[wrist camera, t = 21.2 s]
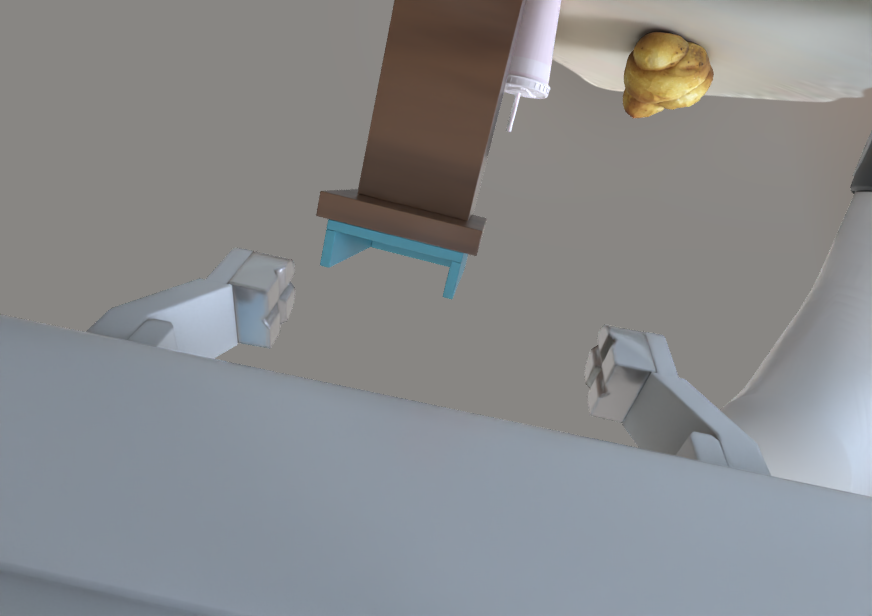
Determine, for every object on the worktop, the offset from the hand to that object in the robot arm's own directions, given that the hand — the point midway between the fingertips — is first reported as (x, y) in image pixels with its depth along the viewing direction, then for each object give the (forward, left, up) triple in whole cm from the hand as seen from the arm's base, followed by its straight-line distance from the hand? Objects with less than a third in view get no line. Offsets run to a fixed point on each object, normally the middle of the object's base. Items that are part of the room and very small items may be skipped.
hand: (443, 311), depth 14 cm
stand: (+25, +25, -23) cm, 42 cm away
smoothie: (+28, +41, -23) cm, 55 cm away
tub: (+25, +25, +2) cm, 35 cm away
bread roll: (+18, +55, -23) cm, 63 cm away
